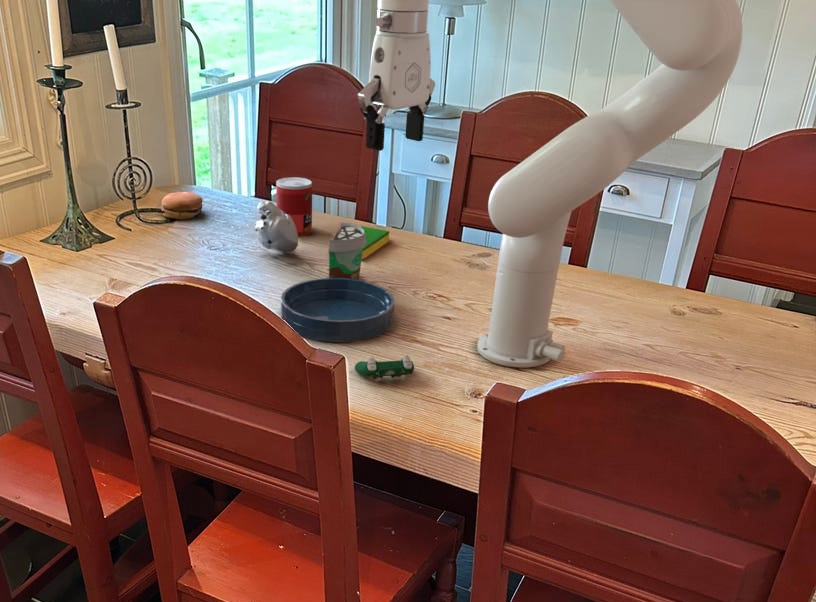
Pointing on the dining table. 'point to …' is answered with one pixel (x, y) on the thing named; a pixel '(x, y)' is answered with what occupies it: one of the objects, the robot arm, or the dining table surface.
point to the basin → (338, 309)
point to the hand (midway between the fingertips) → (394, 144)
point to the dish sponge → (374, 240)
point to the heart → (276, 228)
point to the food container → (346, 252)
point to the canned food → (296, 202)
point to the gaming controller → (385, 368)
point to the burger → (181, 205)
